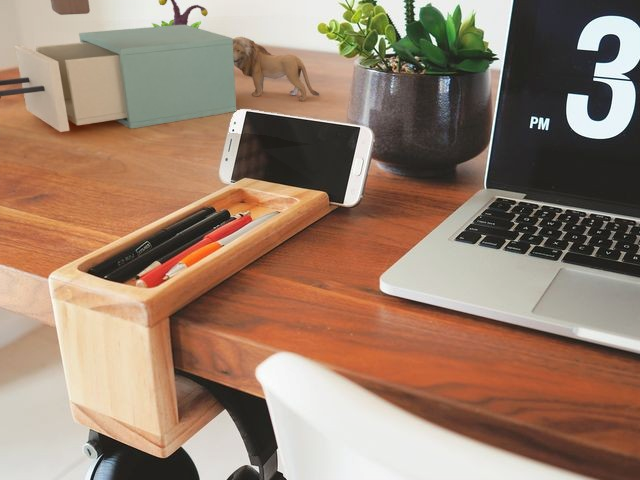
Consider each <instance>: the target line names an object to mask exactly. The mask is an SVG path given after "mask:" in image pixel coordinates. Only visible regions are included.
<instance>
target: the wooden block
mask: <svg viewBox="0 0 640 480" xmlns="http://www.w3.org/2000/svg"><path fill="white" fill-rule="evenodd" d="M50 5H51V9H52V11H53V12H55V13H56V14H58V15H61V16H66V15H87V14H90V11H91V9H90V1H89V0H50Z"/></svg>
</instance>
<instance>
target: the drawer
mask: <svg viewBox="0 0 640 480" xmlns="http://www.w3.org/2000/svg"><path fill="white" fill-rule="evenodd" d="M14 51H15V55H16V60H17V66H18V71H19V77H16V78H8V79H0V86H9V85H18V84H19V85H20V84H21V86H22V87H20V88H19V87H18V88H10V89H3V90H0V99H1V98H2V97H7V96H14V95H15V96H16V95H23V98H24V103H25V107H26V110H27V111H28V112H29V113H31V114H32V115H34V116H35V117H37V118H38V119H39V120H41V121H43V122H44V123H46V124H47V125H49V126H50V127H52V128H53V129H55V130H56V131H58V132H60V133H65V132H69V131H70V125H69V124H70V123H69V122H71V123H73V124H74V125H76V126H82V125H83V126H84V125H90V124H96V123H97V124H98V123H103V122H109V121H110V122H111V121H116V119H123V118H127V111H126V103H125V96H124V88H123V80H122V72H121V64H120V56H119V54H118V53H115V52H113V51H110V50H108V49H105V48H102V47H100V46H97V45H95V44H92V43H90V42H82V43H80V42H73V43H61V44H59V43H58V44H49V45H38V46H35V49H32V48H30V47H28V46H26V45H23V44H22V45H14Z"/></svg>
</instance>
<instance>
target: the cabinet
mask: <svg viewBox="0 0 640 480" xmlns="http://www.w3.org/2000/svg"><path fill="white" fill-rule="evenodd" d="M160 26H161V25H160ZM78 37H79V43H82V42H90V43H92V44H95V45H97V46H100V47H102V48H105V49H108V50H110V51H113V52H115V53H118V54H119V56H120V64H121V72H122V80H123V88H124V96H125V103H126V111H127V118H123V119H116V120H115V121H116V122H118V123H119V124H121V125H123V126H125V127H126V128H128V129H130V130H132V129H139V128H145V127H150V126H156V125H163V124H168V123H175V122H181V121H187V120H193V119H198V118H205V117H211V116H217V115H224V114H230V113H235V112H234V111H235V110H237V95H236V94H237V93H236V78H235V77H236V76H235V74H236V73H235V65H234V57H233V39H234V38H233V37H230V36H225V35H223V34H219V33H216V32H212V31H209V30H205V29H202V28H199V27H198V28H195V27H191V25H188V24H187V25H173V26H161V27H154V26H150V27H149V26H147V27H136V28H123V29H113V30H111V29H110V30H99V31H88V32H87V31H86V32H79V33H78ZM229 112H230V113H229Z"/></svg>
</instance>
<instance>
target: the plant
mask: <svg viewBox="0 0 640 480" xmlns="http://www.w3.org/2000/svg"><path fill="white" fill-rule="evenodd" d="M170 1H171V4H172V6H173V7H172V11H173V13H174V15H173V19H170V20H169V22H166V21H164V20H161V21H160V22H161V24H160V25H159V24H157V23H153V22H151V25H152V27H161V26H173V25H188V22H189V20H188V19H189V16H190V14H191V12H192V11H193V10H194V9H200V12H201V15H202V16H203V17H206V16H208V9H206V8H205V7H204V6H202V5H198V4H193V5H191V6H188V7H187V8H186V10H185V11H184V12H183V14H181V9H180V7H179V5H178V4H177V2H176V1H175V0H170ZM167 2H168V0H158V3H159V6H165V5H166V4H167ZM201 24H202V21H201V20H200V21H196V22H193V23H191V24H190V26H191V27H195V28H198V29H199V28H200V25H201Z"/></svg>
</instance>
